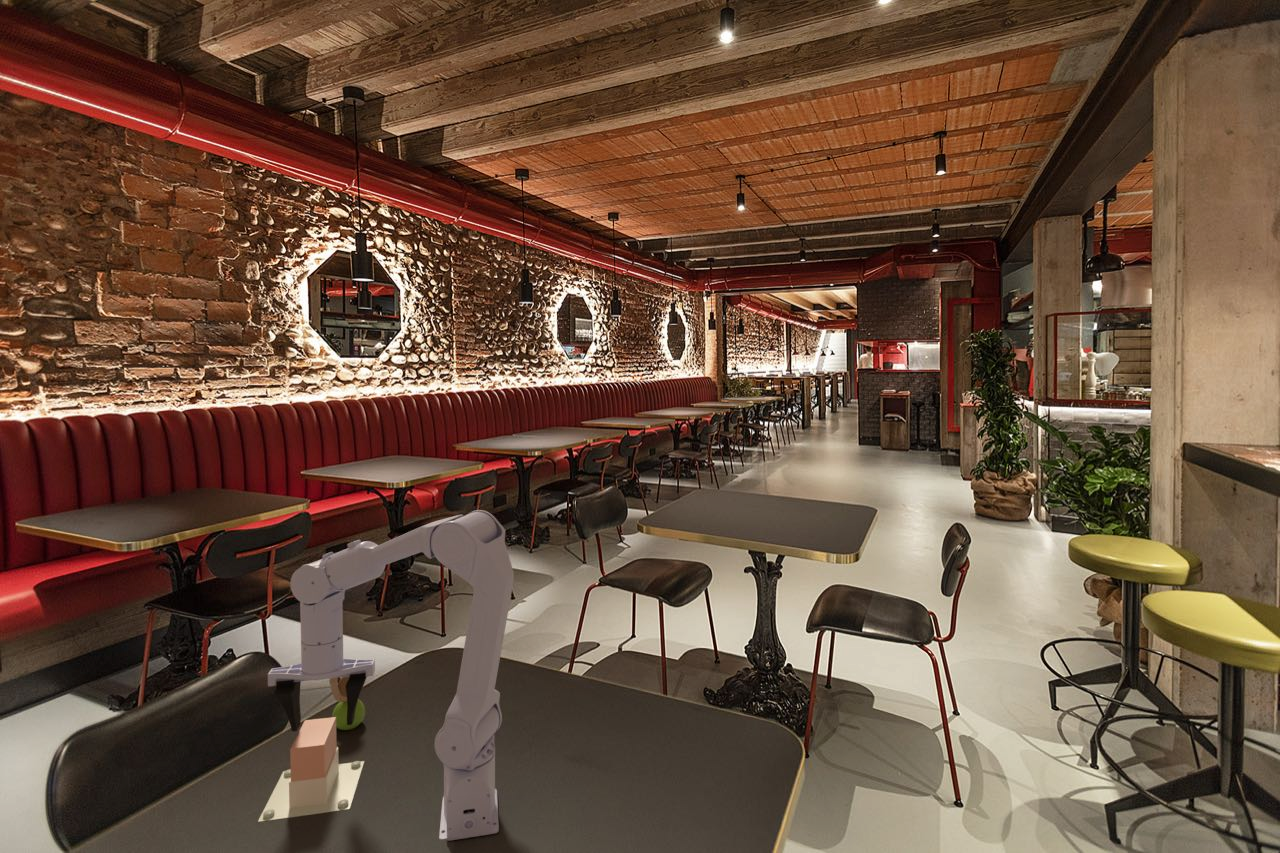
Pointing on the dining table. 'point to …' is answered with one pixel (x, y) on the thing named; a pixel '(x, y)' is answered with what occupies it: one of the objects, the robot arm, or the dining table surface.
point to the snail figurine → (344, 705)
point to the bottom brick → (314, 787)
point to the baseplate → (336, 802)
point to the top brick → (313, 749)
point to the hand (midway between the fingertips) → (323, 724)
